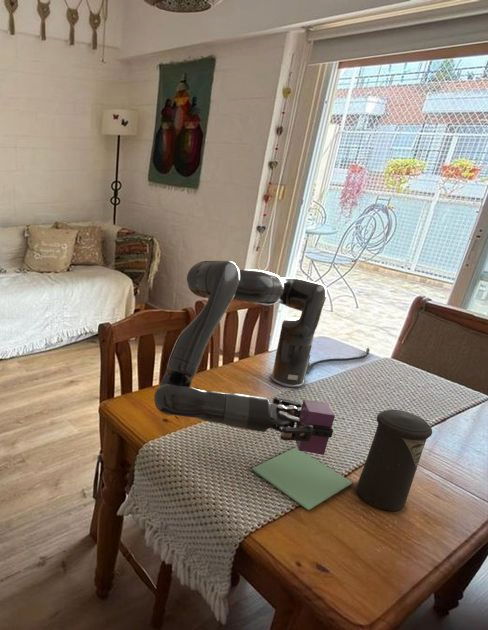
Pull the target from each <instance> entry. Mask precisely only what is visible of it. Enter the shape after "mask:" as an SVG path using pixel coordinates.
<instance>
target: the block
mask: <svg viewBox="0 0 488 630" xmlns="http://www.w3.org/2000/svg"><path fill="white" fill-rule="evenodd" d="M301 404H302V408H301V412H300V416H299V418H300V419H302V421H303V422H306V423H309V424H312V425H313V424H314V425H320V426H327V427H331V428H332V429H333V425H334V420H335V417H336V415H335V413H334V411H333V409H332V406H331V404H330V403H329V402H326V401H325V402H324V401H318V400H311V399H303V401H302V403H301ZM300 428H306V427H303V426H300ZM300 436H304V435H302V434H300ZM329 439H330V438H326V437H320V436H314V435H312V436H311V438H310V441H295V443H296V446H297V447H296V448H297V449H298V450H299V451H302V452H304V453H311V454H316V455H320V456H321V455H322V456H325V453H326V449H327V446H328V442H329Z"/></svg>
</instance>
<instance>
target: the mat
mask: <svg viewBox="0 0 488 630" xmlns="http://www.w3.org/2000/svg"><path fill="white" fill-rule="evenodd" d="M251 471H252V472H254V473H255V474H257V475H258V476H260V478H261V479H264V480H265V481H266V482H268V483H269V484H271V485H272V486H273V487H275V488H276V489H277V490H279V491H280V492H281V493H283V494H284V495H286V496H287V497H289V498H290V499H291V500H292V501H294V502H296V503H297V504H298V505H300V506H301V507H302V508H304V509H305V510H306V511H310V510H311V509H313V508H315V507H317V506H318V505H320V504H321V503H323V502H325V501H327V500H328V499H330V498H332V497H333V496H335V495H337V494H338V493H340V492H342V491H343V490H345V489H347V488H348V487H350V486H351V485H353V482H352V481H351V480H349V479H348V478H346V477H345V476H343V475H341V474H340V473H338V472H336V471H335V470H333V469H332V468H329V467H328V466H326V465H325V464H323V463H322V462H320V461H318V460H317V459H316V458H314V457H313V456H311V455H309V454H307V453H306V452H304V451H299V450H298V447H293V448H291V449H289V450H287V451H285V452H283V453H281V454H279V455H276V456H274V457H272V458H270V459H268V460H266V461H264V462H262V463H260V464H258V465H256V466H253V467H252V468H251Z"/></svg>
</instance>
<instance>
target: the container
mask: <svg viewBox="0 0 488 630" xmlns="http://www.w3.org/2000/svg"><path fill="white" fill-rule="evenodd" d="M376 421H377V426H376V430H375V433H374V436H373V439H372V441H371V444H370V448H369V451H368V453H367V456H366V459H365V462H364V464H363V468H362V471H361V473H360V476H359V479H358V482H357V484H356V492H357V494H358V495H359V496H360V497H361V499H362V500H364V501H365V502H366V503H368V504H370V505H371V506H373V507H376V508H377V509H381V510H384V511H389V512H399V511H401V510H403V509H404V507H405V505H406V503H407V499H408V496H409V493H410V490H411V487H412V485H413V483H414V482H413V481H414V478H415V475H416V472H417V469H418V467H419V463H420V460H421V458H422V455H423V451H424V448H425V445H426V442H427V440H428V439H429V438H430V437H431V436H432V435H433V429H432V426H431V425H430V424H429V423H428V422H427V421H426V420H425V419H423V418H422V417H420V416H418V415H416V414H413V413H411V412H409V411H405V410H400V409H386V410H382V411H380V412H378V413H377V415H376Z"/></svg>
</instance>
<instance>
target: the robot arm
mask: <svg viewBox="0 0 488 630" xmlns="http://www.w3.org/2000/svg"><path fill="white" fill-rule="evenodd" d="M186 285H187V286H188V289H189V290H190V292H191V293H192V294H193V295H195V296H197V297H199V298H203V299H204V298H205V299H206V298H207V301H206V303H205V305H204V306H203V308H201V311H200V312H199V313H198V314H197V315H196V317H195V318H193V320H192V321H191V322H189V324H188V325H187V326H186V327H185V328H184V329H183V330H182V331H181V332H180V334H179V335H178V337H177V338H176V340H175V342H174V345H173V347H172V351H171V352H170V355H169V358H168V360H167V364H166V368H165V369H166V370H165V373H164V375H163V377H162V379H161V381H160V384H159V387H158V388H157V389H156V390H155V392H154V395H153V402H154V405H155V407H156V409H157V410H158V412H160V414H162V415H164V416H167V417H168V416H169V417H171V416H176V417H184V418H194V419H198V420H200V421H203V422H207V423H213V424H218V425H224V426H227V427H231V428H236V429H242V430H247V431H248V430H249V431H253V432H259V433H265V432H267V431H268V429H271V430H275V431H276V432H279V433H280V440H282V441H291V442H294V441H295V442H296V441H310V438H311V436H312V435H314V436H320V437H326V438H329V439H330V438H332V437H333V434H334V429H333V427H332V428H331V427H327V426H320V425H314V424H313V425H312V424H309V423H306V422H303V421H302V419H300V418H299V416H300V412H301V408H302V404H303V403H301V402H297V401H293V400H289V399H285V398H282V397H278V396H274V397H272V398H273V399H272V403H271V402H270V400H269V398H267V397H262V396H256V395H250V394H241V393H234V392H221V391H214V390H206V389H205V390H204V389H199V388H195V387H191V385H192V382H193V380H194V379H195V376H196V375H197V372H198V369H199V367H200V364H201V362H202V360H203V357H204V353H205V352H206V349H207V346H208V344H209V342H210V340H211V338H212V336H213V334H214V332H215V331H216V329H217V327H218V325H219V323H220V322H221V321H222V319H223V317H224V315H225V313H226V312H227V310H228V308H229V306H230V305H231V303H232V301H233V300H234V301H238V302H243V303H247V304H252V305H256V306H271V305H274V304H276V303H277V304H280V305H283V306H284V307H287V308H290V309H293V310H296V311H299V312H301V313H300V317H288V318H285V319H284V320H283V321H282V323H281V327H280V332H279V333H280V334H279V338H278V343H277V347H276V352H275V358H274V363H273V368H272V373H271V375H270V378H271V380H272V381H273V382H274V383H276V384H278V385H281V386H283V387H287V388H301V387H302V386H303V385H304V383H305V382H306V381H305V380H306V377H307V374H309V373H310V371H311V369H312V368H313V367H314V366H316V365H318V364H321V363H328V362H345V361H353V360H354V361H355V360H361V359H365V358H367V357H368V356H369V354H370V351H371V350H370V348H369V347H366V349H365V353H364V354H363V355H360V356H353V357H338V358H337V357H336V358H326V359H319V360H316V361H313V362H310V359H311V351H312V347H313V342H314V338H315V335H316V330H317V328H318V326H319V323H320V320H321V318H322V317H321V316H322V312H323V309H324V307H325V303H326V299H327V287H326V286H325V285H324V284H323V283H318V282H315V281H311V280H307V279H304V278H298V277H294V278H293V277H280V275H278V274H275V273H273V272H270V271H264V270H260V269H259V270H258V269H239V267H238V266H237V265H236V263H235V262H234V261H229V260H203V261H199V262H196V263H194V264H193V265H191V267H190V268H189V270H188V272H187V274H186ZM300 426H303V427H306V428H300ZM300 434H302V435H304V436H300Z"/></svg>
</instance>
